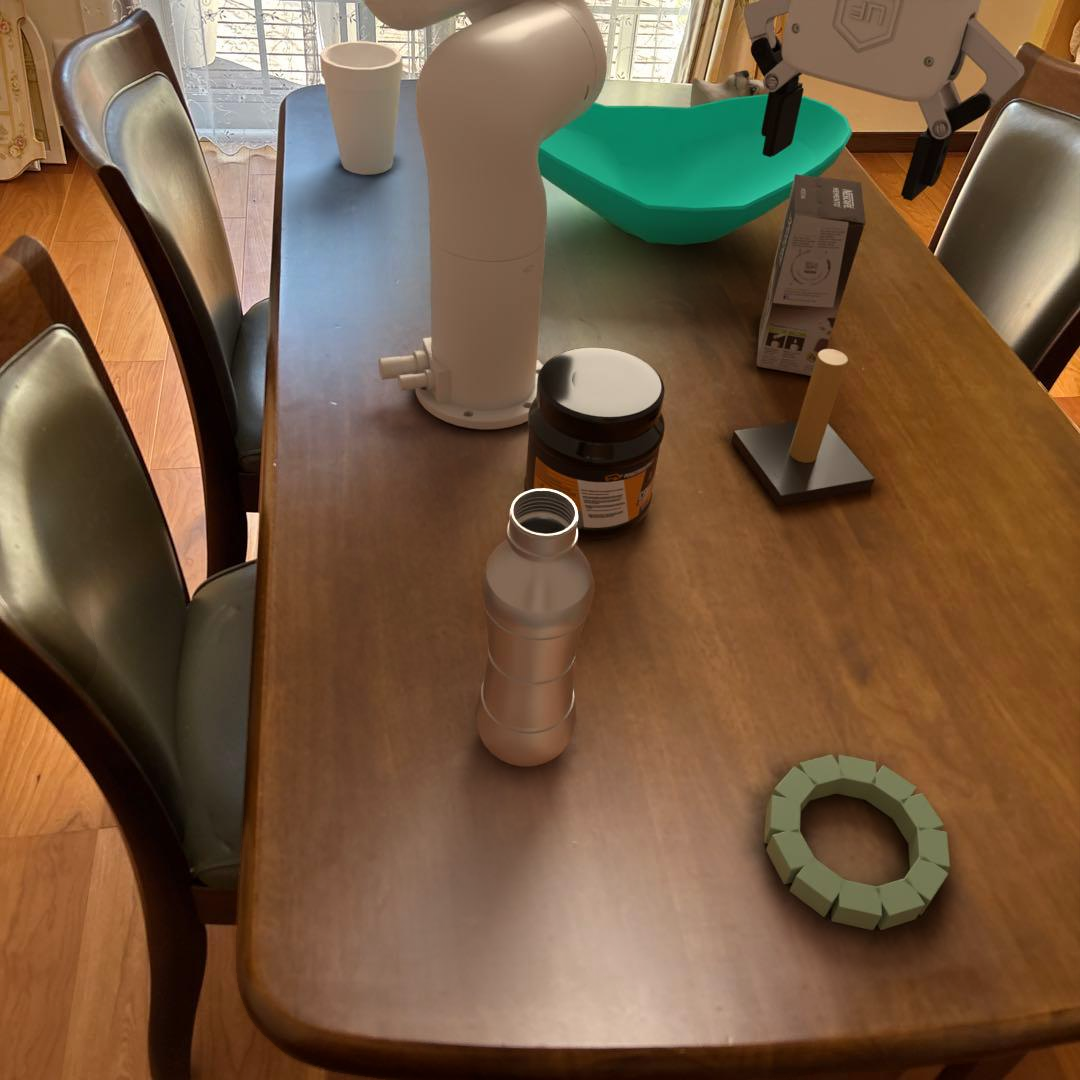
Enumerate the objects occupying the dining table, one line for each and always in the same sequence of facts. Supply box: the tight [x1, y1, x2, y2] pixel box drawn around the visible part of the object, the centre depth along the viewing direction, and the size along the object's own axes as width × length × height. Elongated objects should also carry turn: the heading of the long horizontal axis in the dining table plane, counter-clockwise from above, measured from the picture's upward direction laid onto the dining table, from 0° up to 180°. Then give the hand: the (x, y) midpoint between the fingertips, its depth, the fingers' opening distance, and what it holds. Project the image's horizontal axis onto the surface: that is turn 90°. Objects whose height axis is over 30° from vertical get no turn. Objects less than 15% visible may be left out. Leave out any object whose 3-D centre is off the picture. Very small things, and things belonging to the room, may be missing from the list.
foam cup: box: [319, 40, 404, 176], centre depth 124 cm, size 10×9×13 cm
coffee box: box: [756, 174, 866, 377], centre depth 98 cm, size 9×6×16 cm
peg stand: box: [731, 348, 875, 507], centre depth 86 cm, size 9×9×11 cm
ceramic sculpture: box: [689, 69, 769, 107], centre depth 140 cm, size 11×9×15 cm
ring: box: [763, 754, 951, 931], centre depth 62 cm, size 11×11×2 cm
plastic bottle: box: [475, 489, 595, 768], centre depth 60 cm, size 6×7×20 cm
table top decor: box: [538, 94, 853, 246], centre depth 116 cm, size 40×28×13 cm
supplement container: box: [523, 346, 666, 540], centre depth 80 cm, size 10×10×12 cm
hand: (843, 171), depth 67 cm, fingers open, 9 cm apart
